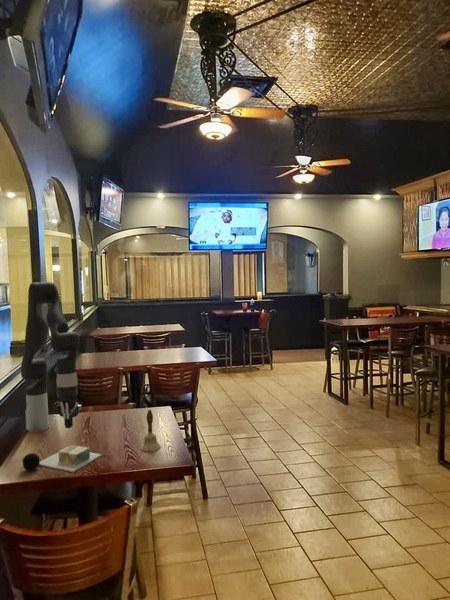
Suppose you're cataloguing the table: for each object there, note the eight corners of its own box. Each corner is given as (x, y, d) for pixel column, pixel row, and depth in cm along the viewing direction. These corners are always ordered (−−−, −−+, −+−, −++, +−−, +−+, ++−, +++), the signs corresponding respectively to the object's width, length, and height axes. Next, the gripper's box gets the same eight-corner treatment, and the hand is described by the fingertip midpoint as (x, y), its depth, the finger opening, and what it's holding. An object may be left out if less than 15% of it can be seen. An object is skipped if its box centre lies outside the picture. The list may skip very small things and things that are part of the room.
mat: (36, 465, 176) (36, 463, 176) (66, 449, 191) (66, 448, 191) (73, 472, 169) (73, 470, 169) (101, 455, 184) (101, 454, 184)
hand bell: (164, 445, 193) (162, 407, 192) (154, 452, 186) (153, 414, 184) (146, 443, 196) (145, 406, 195) (136, 450, 188) (135, 412, 187)
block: (58, 451, 177) (76, 454, 174) (71, 444, 184) (89, 447, 180) (59, 461, 178) (77, 465, 174) (71, 454, 184) (89, 457, 180)
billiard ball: (21, 468, 174) (20, 453, 173) (38, 464, 177) (37, 449, 176) (24, 474, 168) (23, 458, 168) (41, 470, 172) (40, 454, 171)
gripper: (46, 384, 177) (48, 428, 178) (73, 388, 172) (75, 433, 173) (60, 380, 184) (62, 422, 185) (87, 383, 178) (88, 426, 180)
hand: (68, 427), depth 179 cm, fingers closed
